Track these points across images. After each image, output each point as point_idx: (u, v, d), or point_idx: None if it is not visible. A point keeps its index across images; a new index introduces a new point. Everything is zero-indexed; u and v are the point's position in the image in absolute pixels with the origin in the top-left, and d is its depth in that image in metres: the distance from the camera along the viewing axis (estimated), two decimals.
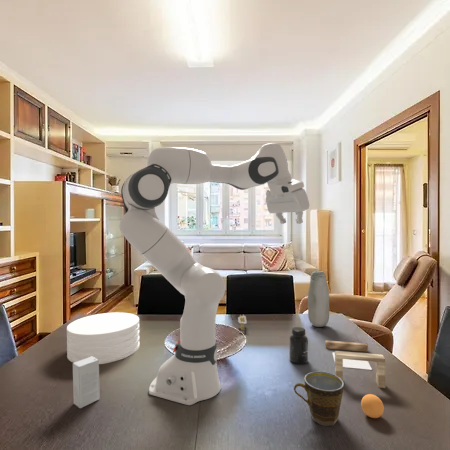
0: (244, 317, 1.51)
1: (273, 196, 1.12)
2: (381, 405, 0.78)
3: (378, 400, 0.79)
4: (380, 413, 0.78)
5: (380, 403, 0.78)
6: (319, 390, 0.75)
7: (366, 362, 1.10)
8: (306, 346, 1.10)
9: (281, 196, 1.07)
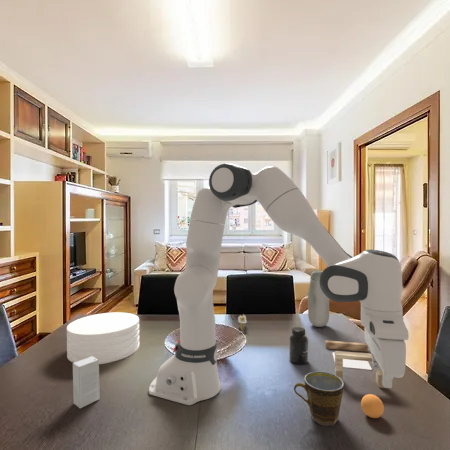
0: (244, 317, 1.51)
1: None
2: (381, 405, 0.78)
3: (378, 400, 0.79)
4: (380, 413, 0.78)
5: (380, 403, 0.78)
6: (319, 390, 0.75)
7: (366, 362, 1.10)
8: (306, 346, 1.10)
9: (371, 332, 0.70)
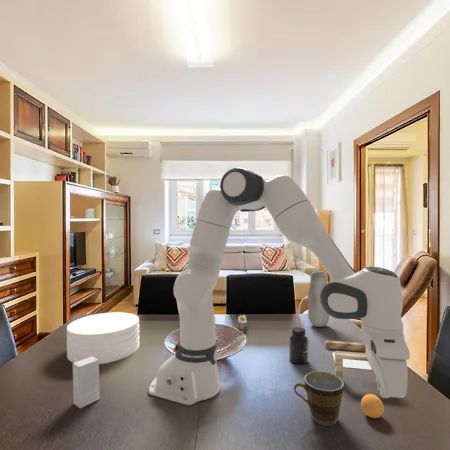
0: (244, 316, 1.52)
1: None
2: (381, 405, 0.78)
3: (378, 400, 0.79)
4: (380, 413, 0.78)
5: (380, 403, 0.78)
6: (319, 390, 0.75)
7: (366, 362, 1.10)
8: (306, 346, 1.10)
9: (373, 350, 0.70)
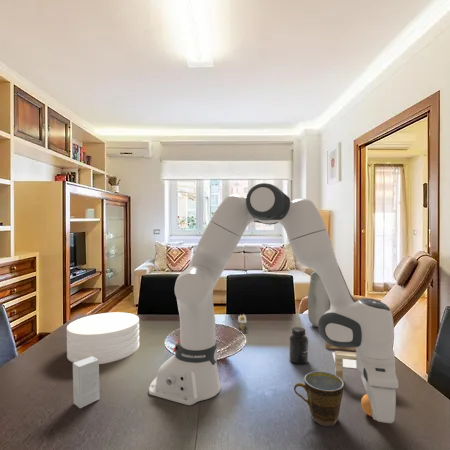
0: (244, 316, 1.52)
1: None
2: None
3: None
4: None
5: None
6: (319, 390, 0.75)
7: None
8: (306, 346, 1.10)
9: None
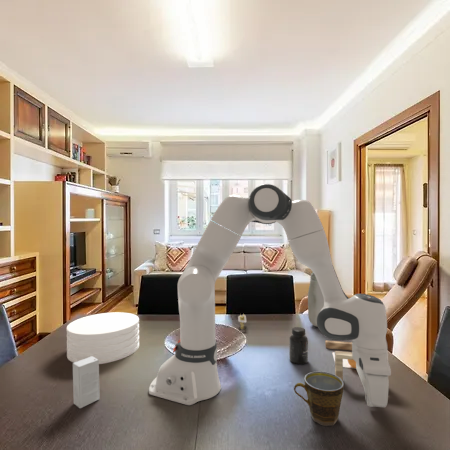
0: (244, 316, 1.52)
1: None
2: None
3: None
4: None
5: None
6: (319, 390, 0.75)
7: None
8: (306, 346, 1.10)
9: None
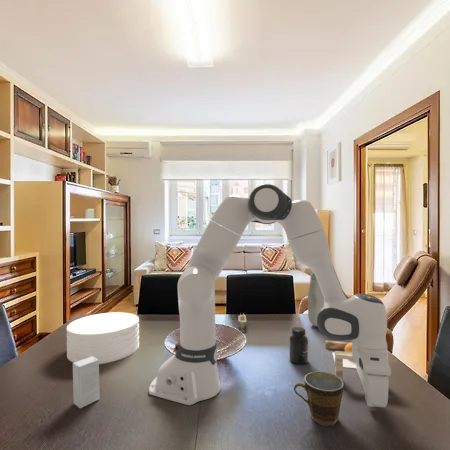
0: (244, 316, 1.53)
1: None
2: None
3: None
4: None
5: None
6: (319, 390, 0.75)
7: None
8: (306, 346, 1.10)
9: None
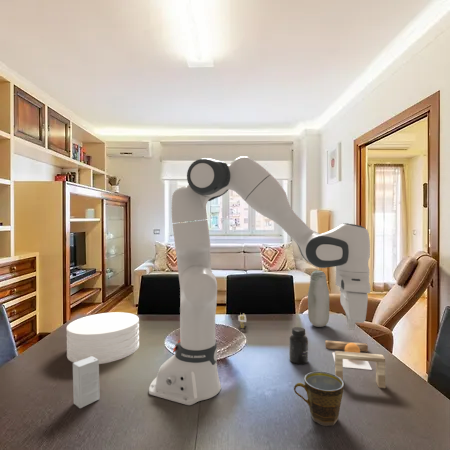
0: (244, 316, 1.53)
1: None
2: (358, 348, 1.13)
3: (356, 345, 1.14)
4: None
5: (357, 347, 1.14)
6: (319, 390, 0.75)
7: (366, 362, 1.10)
8: (306, 346, 1.10)
9: (343, 290, 0.85)
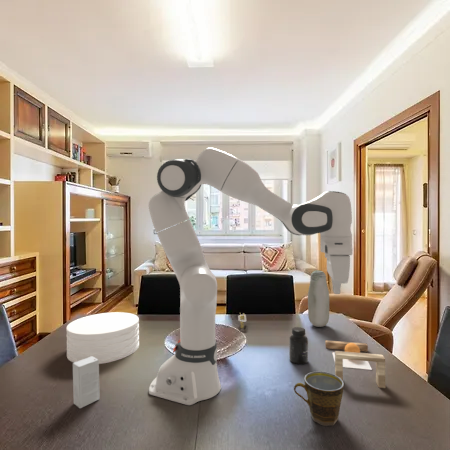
0: (244, 315, 1.54)
1: None
2: (358, 348, 1.13)
3: (356, 345, 1.14)
4: None
5: (357, 347, 1.14)
6: (319, 390, 0.75)
7: (366, 362, 1.10)
8: (306, 346, 1.10)
9: (327, 256, 0.87)
